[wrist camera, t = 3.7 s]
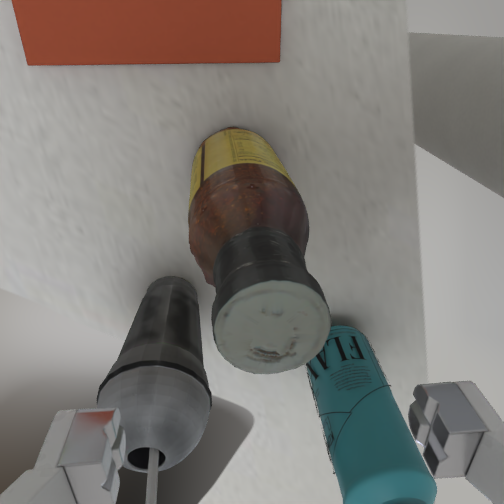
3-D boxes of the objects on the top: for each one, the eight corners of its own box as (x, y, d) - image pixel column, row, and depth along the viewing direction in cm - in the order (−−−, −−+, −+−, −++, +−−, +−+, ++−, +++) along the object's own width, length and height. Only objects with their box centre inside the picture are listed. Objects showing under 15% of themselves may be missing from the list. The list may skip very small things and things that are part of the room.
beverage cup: (112, 299, 36) (16, 559, 19) (166, 246, 34) (116, 484, 16) (176, 342, 39) (144, 601, 22) (229, 296, 37) (243, 541, 19)
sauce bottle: (234, 218, 33) (256, 433, 16) (175, 165, 31) (125, 351, 13) (295, 162, 31) (396, 336, 14) (237, 100, 29) (273, 219, 11)
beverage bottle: (353, 303, 38) (469, 537, 21) (372, 350, 41) (486, 588, 24) (289, 328, 39) (348, 573, 22) (312, 373, 42) (380, 618, 25)
